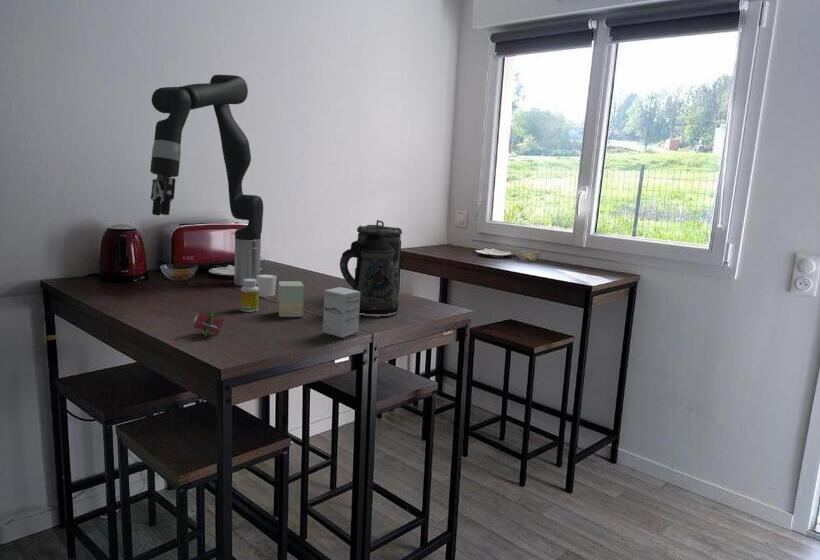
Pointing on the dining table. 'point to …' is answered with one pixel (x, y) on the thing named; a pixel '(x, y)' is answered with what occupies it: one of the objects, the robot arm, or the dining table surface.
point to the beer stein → (372, 274)
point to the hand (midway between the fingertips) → (160, 214)
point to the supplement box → (341, 311)
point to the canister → (391, 238)
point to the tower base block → (290, 308)
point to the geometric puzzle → (208, 323)
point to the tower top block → (290, 291)
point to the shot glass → (266, 284)
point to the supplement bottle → (249, 296)
